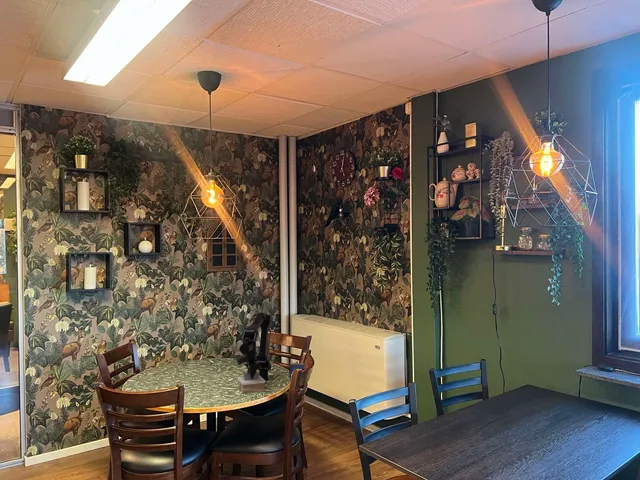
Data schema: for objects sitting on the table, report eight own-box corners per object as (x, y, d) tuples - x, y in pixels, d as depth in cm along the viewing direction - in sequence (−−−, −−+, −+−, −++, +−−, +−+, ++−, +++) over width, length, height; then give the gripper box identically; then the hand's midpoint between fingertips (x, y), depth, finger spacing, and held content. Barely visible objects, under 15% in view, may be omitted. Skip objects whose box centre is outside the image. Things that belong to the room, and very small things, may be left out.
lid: (237, 380, 275) (237, 371, 275) (259, 378, 280) (259, 368, 280) (242, 386, 263) (242, 376, 263) (265, 384, 268) (265, 374, 268)
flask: (304, 377, 296) (304, 360, 296) (304, 378, 293) (304, 361, 293) (289, 377, 296) (289, 360, 296) (289, 378, 293) (289, 361, 293)
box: (238, 387, 274) (238, 379, 275) (258, 385, 279) (258, 376, 279) (243, 393, 263) (243, 384, 263) (264, 391, 268) (264, 382, 268)
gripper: (233, 348, 277) (233, 375, 277) (240, 355, 260) (240, 383, 260) (252, 346, 281) (252, 373, 281) (260, 353, 264) (260, 381, 264)
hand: (251, 377), depth 271 cm, fingers closed on lid, 4 cm apart
